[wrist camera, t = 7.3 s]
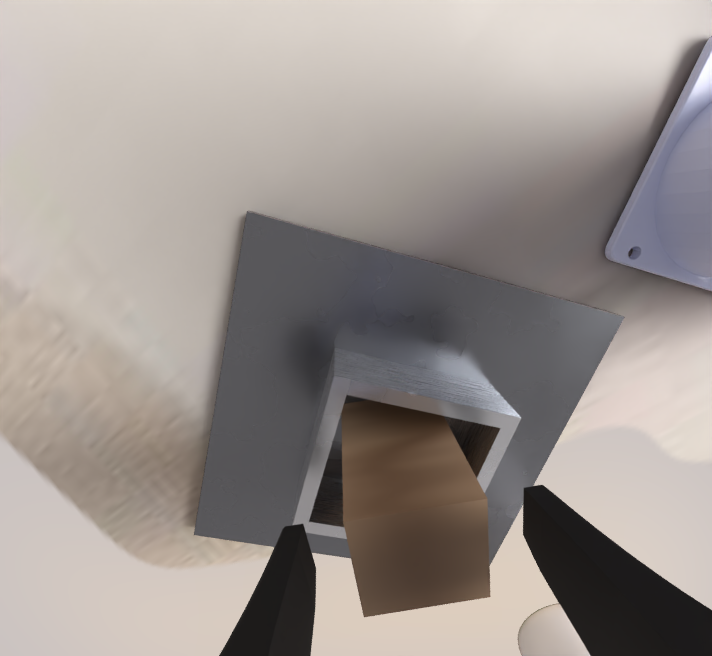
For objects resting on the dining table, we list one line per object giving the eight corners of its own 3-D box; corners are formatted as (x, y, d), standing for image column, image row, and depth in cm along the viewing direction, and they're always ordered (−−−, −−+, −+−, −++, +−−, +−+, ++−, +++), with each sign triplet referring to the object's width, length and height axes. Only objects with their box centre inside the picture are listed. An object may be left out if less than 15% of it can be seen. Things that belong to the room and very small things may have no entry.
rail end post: (429, 390, 15) (487, 498, 9) (436, 462, 16) (490, 596, 10) (341, 404, 15) (343, 521, 9) (354, 475, 16) (363, 617, 10)
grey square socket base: (613, 313, 15) (685, 337, 12) (478, 567, 19) (504, 632, 16) (251, 211, 13) (223, 209, 10) (198, 524, 17) (169, 589, 14)
